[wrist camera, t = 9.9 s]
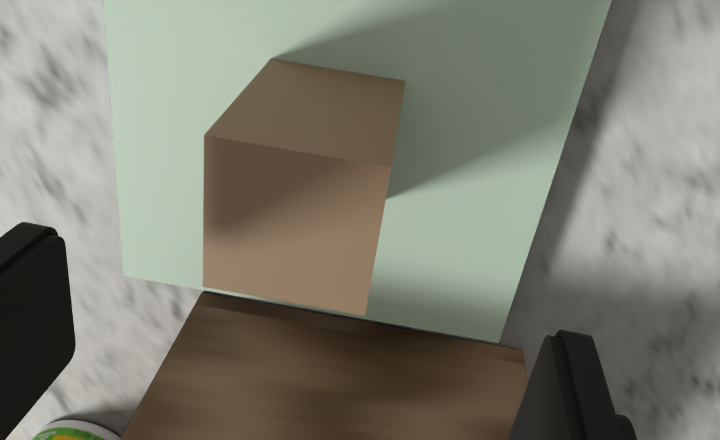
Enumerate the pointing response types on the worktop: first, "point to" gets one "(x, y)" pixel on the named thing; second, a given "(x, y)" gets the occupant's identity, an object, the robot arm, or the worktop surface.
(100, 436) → the supplement bottle
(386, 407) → the storage box
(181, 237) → the lid
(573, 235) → the worktop surface
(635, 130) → the worktop surface
